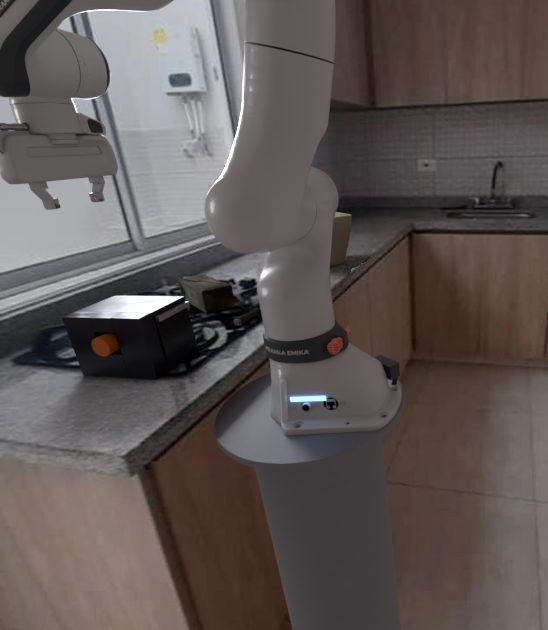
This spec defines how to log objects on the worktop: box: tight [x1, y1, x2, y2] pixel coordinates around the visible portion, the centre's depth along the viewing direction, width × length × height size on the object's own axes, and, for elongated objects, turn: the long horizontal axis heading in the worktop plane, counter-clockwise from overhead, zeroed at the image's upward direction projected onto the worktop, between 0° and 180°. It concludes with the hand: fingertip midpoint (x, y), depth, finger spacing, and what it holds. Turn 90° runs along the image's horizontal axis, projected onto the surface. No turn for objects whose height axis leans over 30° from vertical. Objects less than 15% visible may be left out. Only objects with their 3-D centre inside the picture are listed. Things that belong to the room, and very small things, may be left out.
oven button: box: [92, 333, 120, 357], centre depth 80 cm, size 4×3×4 cm
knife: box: [232, 307, 262, 327], centre depth 111 cm, size 19×2×5 cm
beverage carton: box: [177, 274, 236, 314], centre depth 119 cm, size 8×19×7 cm, turn 44°
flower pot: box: [330, 211, 352, 267], centre depth 152 cm, size 19×19×17 cm
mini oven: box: [61, 295, 199, 380], centre depth 85 cm, size 17×12×12 cm
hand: (77, 205), depth 81 cm, fingers open, 8 cm apart
